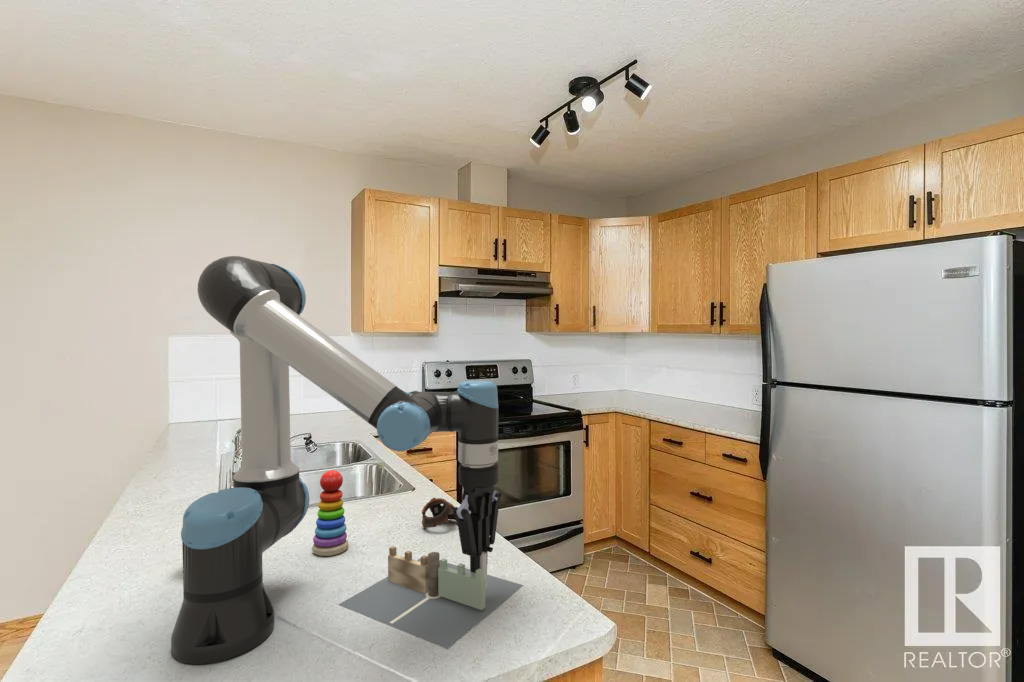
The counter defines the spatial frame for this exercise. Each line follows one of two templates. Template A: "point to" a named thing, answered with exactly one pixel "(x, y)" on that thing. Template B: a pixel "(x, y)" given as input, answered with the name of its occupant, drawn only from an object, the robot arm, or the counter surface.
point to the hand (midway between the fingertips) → (479, 586)
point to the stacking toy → (330, 517)
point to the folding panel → (461, 585)
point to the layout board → (428, 609)
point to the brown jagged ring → (437, 513)
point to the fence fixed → (414, 571)
